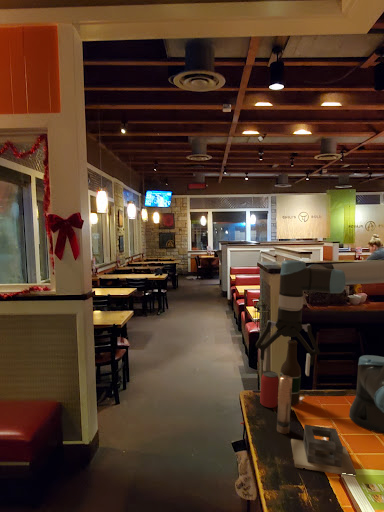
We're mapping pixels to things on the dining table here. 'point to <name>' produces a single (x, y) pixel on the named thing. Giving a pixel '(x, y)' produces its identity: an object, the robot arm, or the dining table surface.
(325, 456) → the collar stand
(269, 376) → the beer can
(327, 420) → the dining table surface
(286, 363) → the beer bottle
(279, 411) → the copper tube
